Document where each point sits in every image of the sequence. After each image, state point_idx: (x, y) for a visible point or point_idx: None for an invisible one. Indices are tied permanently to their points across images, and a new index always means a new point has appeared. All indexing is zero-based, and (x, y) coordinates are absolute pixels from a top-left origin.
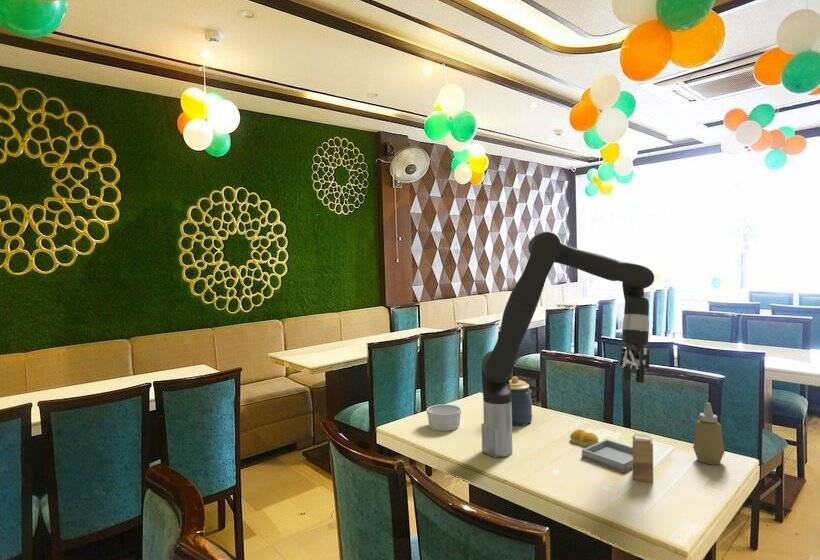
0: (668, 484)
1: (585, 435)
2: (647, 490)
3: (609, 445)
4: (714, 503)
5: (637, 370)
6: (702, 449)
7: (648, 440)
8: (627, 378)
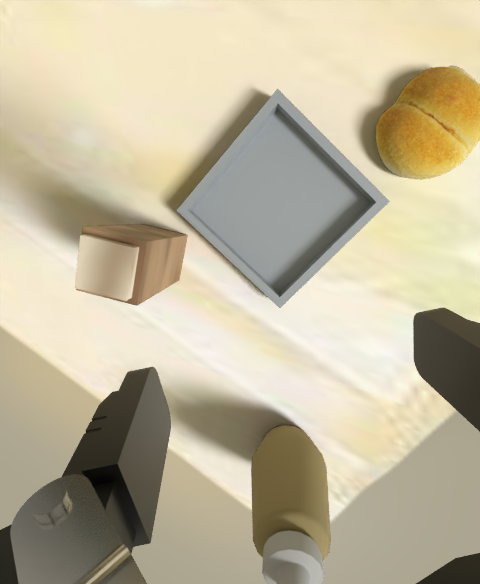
0: None
1: (410, 119)
2: None
3: (365, 208)
4: (66, 361)
5: (83, 469)
6: (263, 450)
7: (77, 279)
8: (426, 352)
